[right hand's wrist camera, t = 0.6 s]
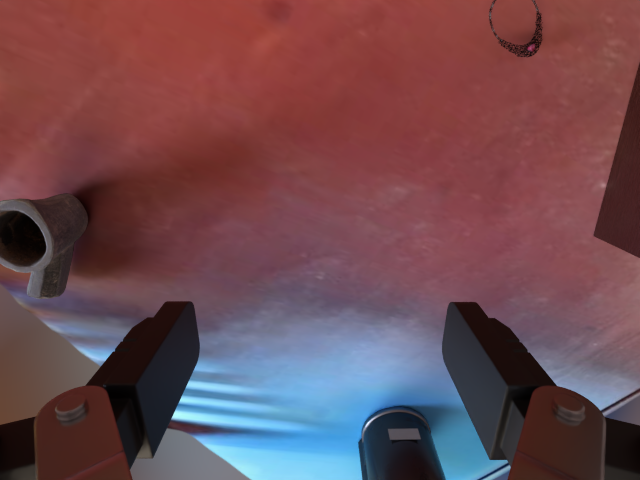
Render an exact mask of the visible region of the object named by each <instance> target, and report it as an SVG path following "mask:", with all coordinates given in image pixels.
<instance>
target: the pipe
mask: <svg viewBox="0 0 640 480" xmlns="http://www.w3.org/2000/svg"><path fill="white" fill-rule="evenodd" d="M87 224H88V216H87V212H86V210H85V208H84V207H83V205H82V204H81V202H80V201H79V200H78V199H77V198H76V197H74V196H73V195H71V194H60V195H56V196H52V197H49V198H46V199H39V200H29V199H13V200H3V201H0V263H1V264H2V265H4V266H5V267H7V268H10V269H13V270H14V271H16V272H25V273H28V272H31V277H30V281H29V284H28V288H27V294H28V296H30V297H34V298H37V299H42V298H47V299H48V298H53V297H57V296H60V295H61V294H62V293H63V292H64V290H65V288H66V284H67V279H68V275H69V270H70V265H71V260H72V255H73V249H74V242H75V241H76V240H77V239H78V238H80V237H81V235H82V234H83V233H84V231H85V229H86V228H87Z"/></svg>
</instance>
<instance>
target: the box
mask: <svg viewBox="0 0 640 480" xmlns="http://www.w3.org/2000/svg"><path fill="white" fill-rule="evenodd" d="M594 236H595V237H597V238H599V239H601V240H603V241H605V242H607V243H609V244H611V245H614V246H616V247H618V248H620V249H622V250H624V251H626V252H628V253H630V254H632V255H635V256H637V257H639V258H640V64H639V68H638V71H637V75H636V79H635V83H634V86H633V90H632V94H631V98H630V101H629V105H628V109H627V113H626V116H625V120H624V124H623V128H622V131H621V135H620V139H619V143H618V146H617V150H616V154H615V157H614V161H613V165H612V169H611V172H610V176H609V180H608V184H607V187H606V191H605V195H604V199H603V202H602V206H601V210H600V214H599V217H598V221H597V225H596V229H595V232H594Z"/></svg>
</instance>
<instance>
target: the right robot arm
mask: <svg viewBox="0 0 640 480" xmlns="http://www.w3.org/2000/svg"><path fill="white" fill-rule="evenodd" d="M199 350H200V343H199V336H198V329H197V322H196V316H195V309H194V305H193V303H192V302H190V301H167V302H165V303H164V304H163V306H162V307H161V308H160V310H159V311H158V312H157V314H156V315H155V316H154V318H146V319H145V320H143V321H142V322H140V323H139V324H137V325H136V326H134V327H133V328H132V329H131V330H130V331H129V333H128V334H127V335H126V336H125V338H124V339H123V342H120V344H119V345H118V346H117V347H116V349H115V352H112V354H111V355H110V356H109V357H108V358H107V360H106V361H105V362H104V363H103V365H102V366H101V367H100V368H99V370H98V371H97V372H96V373H95V375H94V376H93V377H92V378H91V379H90V381H89V382H88V383H87V384H86V386H82V387H78V388H74V389H71V390H69V391H66V392H64V393H62V394H60V395H58V396H57V397H55V398H54V399H52V400H51V401H49V402H48V403H47V404H46V405H45V406H44V407H43V408H42V409H41V410H40V411H39V412H38V414H37V416H36V417H32V418H28V419H24V420H19V421H15V422H11V423H7V424H2V425H0V480H132V476H131V473H130V469H131V467H132V465H133V463H134V461H135V459H136V458H153V457H154V455H155V453H156V451H157V448H158V446H159V444H160V442H161V440H162V437H163V435H164V433H165V431H166V429H167V427H168V425H169V422H170V420H171V418H172V416H173V414H174V412H175V409H176V407H177V405H178V403H179V401H180V399H181V396H182V394H183V392H184V390H185V388H186V386H187V383H188V381H189V379H190V377H191V375H192V373H193V370H194V368H195V366H196V364H197V361H198V357H199ZM442 353H443V359H444V362H445V365H446V367H447V369H448V371H449V374H450V376H451V378H452V380H453V382H454V384H455V386H456V389H457V391H458V393H459V395H460V397H461V399H462V401H463V403H464V406H465V408H466V410H467V412H468V414H469V416H470V418H471V421H472V423H473V425H474V427H475V429H476V431H477V433H478V436H479V438H480V440H481V442H482V444H483V446H484V448H485V450H486V453H487V455H488V457H489V459H490V460H507V461H508V462H509V464H510V466H511V469H510V473H509V476H508V480H640V426H639V425H635V424H631V423H627V422H622V421H618V420H614V419H609V418H606V417H604V416H603V414H602V412H601V411H600V410H599V409H598V408H597V407H596V406H595V405H594V404H593V403H592V402H591V401H589V400H588V399H587V398H585V397H583V396H582V395H580V394H578V393H576V392H574V391H571V390H569V389H566V388H562V387H558V386H557V385H556V384H555V383H554V382H553V381H552V379H551V378H550V377H549V376H548V374H547V373H546V372H545V371H544V370H543V368H542V367H541V366H540V365H539V363H538V362H537V361H536V360H535V359H534V357H533V356H532V355H531V354H530V353H528V352H527V349H526V348H525V346H524V345H523V344H522V343H521V342H519V339H518V338H517V337H516V335H515V334H514V333H513V332H512V331H511V329H510V328H508V327H507V326H505V325H504V324H503V323H501V322H500V321H498V320H497V319H495V318H488V317H487V315H486V314H485V313H484V311H483V310H482V309H481V307H480V306H479V305H478V304H477V303H476V302H451V303H450V304H449V305H448V309H447V316H446V322H445V329H444V336H443V342H442Z"/></svg>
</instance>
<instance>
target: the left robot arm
mask: <svg viewBox="0 0 640 480" xmlns="http://www.w3.org/2000/svg"><path fill="white" fill-rule="evenodd" d="M358 444H359V453H360V462H361V471H362V480H446V478H445V475H444V472H443V469H442V466H441V463H440V460H439V457H438V454H437V451H436V448H435V445H434V442H433V439H432V436H431V432H430V428H429V425H428V423H427V421H426V419H425V418H424V417H423V416H422V415H421V414H420V413H419V412H417V411H415V410H413V409H410V408H406V407H390V408H385V409H382V410H380V411H378V412H376V413H374V414H373V415H371V416H370V417H369V418H368V419H367V420H366V422H365V423H364V425H363V428H362V439H361V440H360V441H359V442H358Z"/></svg>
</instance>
